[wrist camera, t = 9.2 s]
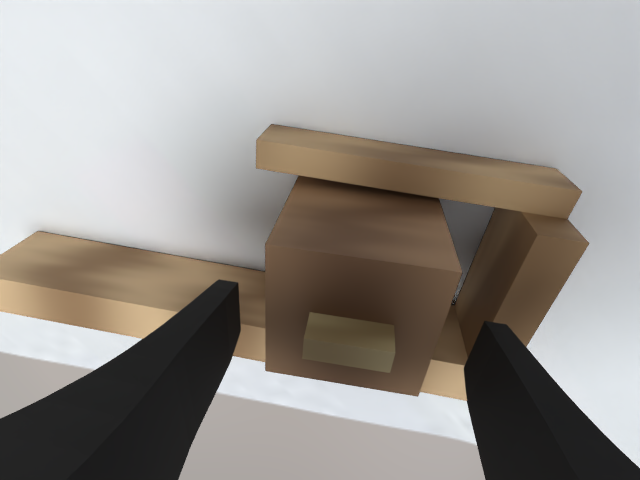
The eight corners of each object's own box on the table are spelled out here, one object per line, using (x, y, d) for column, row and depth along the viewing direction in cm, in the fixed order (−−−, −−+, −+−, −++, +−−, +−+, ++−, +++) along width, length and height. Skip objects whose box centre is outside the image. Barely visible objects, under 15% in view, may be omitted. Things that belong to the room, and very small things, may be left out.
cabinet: (432, 179, 14) (471, 298, 8) (406, 281, 17) (420, 426, 11) (304, 163, 15) (253, 267, 9) (298, 265, 17) (256, 397, 11)
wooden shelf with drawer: (556, 168, 13) (607, 213, 10) (472, 341, 18) (490, 405, 15) (-16, 79, 14) (-118, 96, 11) (48, 263, 19) (-11, 309, 16)
